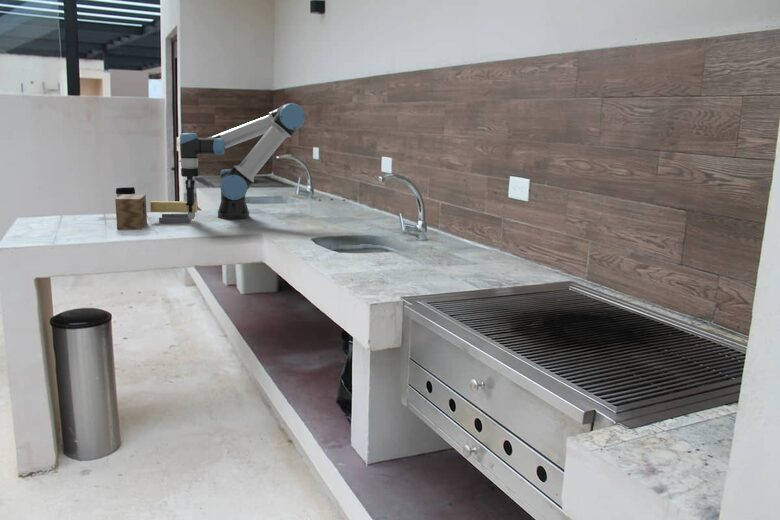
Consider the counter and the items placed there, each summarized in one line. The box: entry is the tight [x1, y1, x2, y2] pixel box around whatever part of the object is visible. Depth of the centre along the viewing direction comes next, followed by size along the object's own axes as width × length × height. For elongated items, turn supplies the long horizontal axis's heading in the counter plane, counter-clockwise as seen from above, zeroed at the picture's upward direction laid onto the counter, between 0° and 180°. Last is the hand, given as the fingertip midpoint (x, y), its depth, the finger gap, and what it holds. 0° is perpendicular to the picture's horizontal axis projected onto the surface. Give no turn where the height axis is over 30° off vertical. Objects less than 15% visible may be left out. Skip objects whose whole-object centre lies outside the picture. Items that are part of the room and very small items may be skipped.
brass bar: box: [150, 200, 198, 214], centre depth 299 cm, size 20×4×4 cm, turn 103°
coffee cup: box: [115, 186, 136, 198], centre depth 300 cm, size 8×8×15 cm
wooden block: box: [114, 193, 148, 230], centre depth 284 cm, size 10×16×13 cm, turn 13°
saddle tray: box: [158, 213, 192, 225], centre depth 300 cm, size 13×13×3 cm
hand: (191, 218), depth 302 cm, fingers closed on brass bar, 4 cm apart
